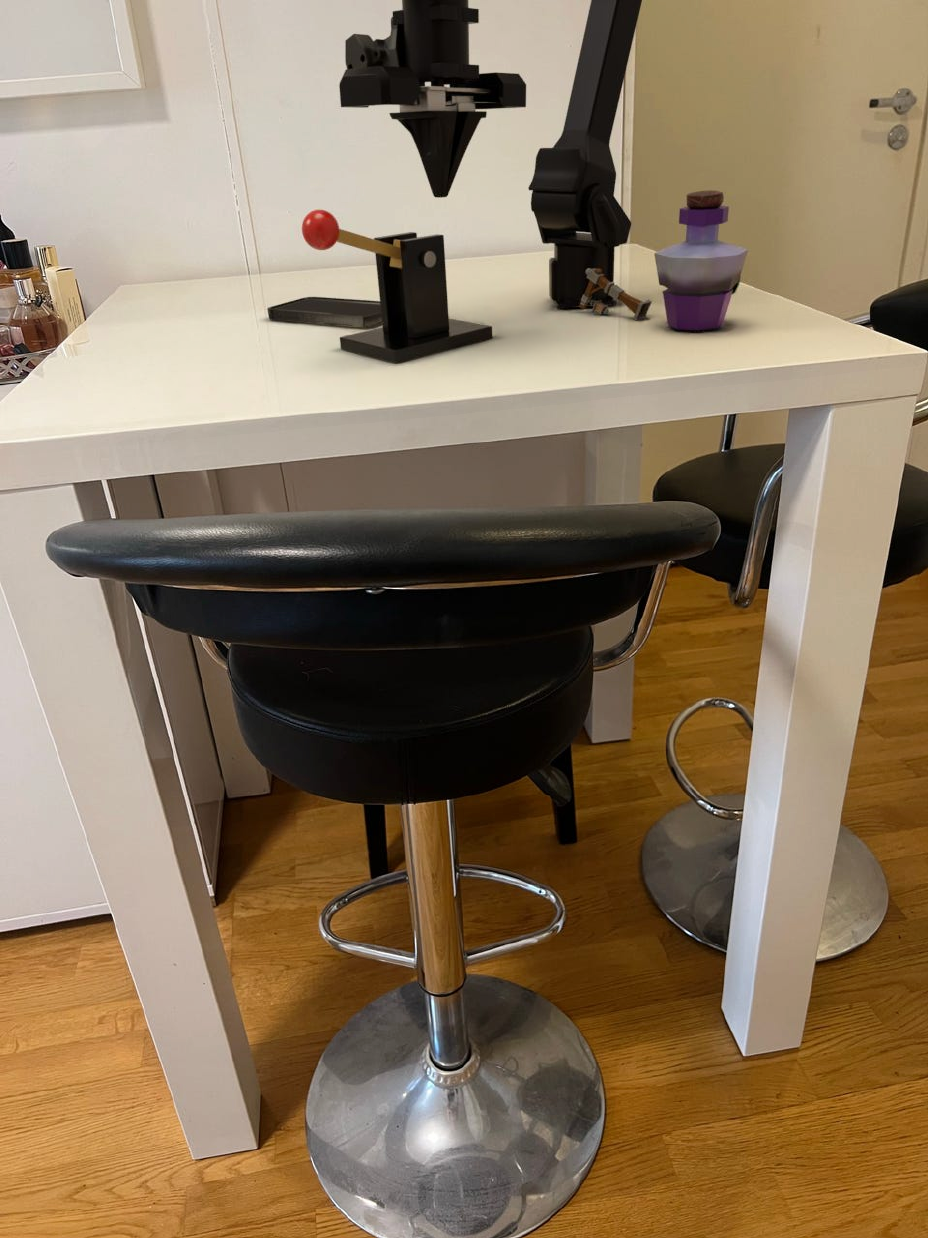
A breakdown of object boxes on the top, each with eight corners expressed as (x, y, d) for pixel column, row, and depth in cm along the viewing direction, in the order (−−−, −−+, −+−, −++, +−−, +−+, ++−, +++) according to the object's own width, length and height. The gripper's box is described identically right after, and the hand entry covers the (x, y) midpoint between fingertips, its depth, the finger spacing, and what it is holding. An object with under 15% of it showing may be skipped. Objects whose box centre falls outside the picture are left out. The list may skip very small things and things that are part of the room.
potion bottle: (759, 324, 86) (774, 187, 80) (701, 340, 82) (712, 197, 76) (690, 313, 92) (699, 185, 86) (632, 327, 88) (637, 194, 82)
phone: (308, 296, 106) (409, 302, 99) (309, 305, 107) (410, 313, 99) (262, 309, 101) (365, 317, 93) (263, 319, 101) (366, 328, 94)
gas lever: (312, 246, 74) (318, 205, 73) (292, 243, 77) (297, 204, 76) (428, 279, 83) (435, 243, 82) (407, 276, 85) (414, 241, 85)
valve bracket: (396, 363, 81) (385, 248, 76) (340, 349, 87) (327, 241, 82) (493, 338, 87) (488, 230, 82) (435, 326, 93) (428, 225, 88)
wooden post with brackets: (579, 300, 96) (594, 261, 93) (635, 338, 94) (652, 299, 90) (569, 303, 95) (584, 263, 92) (626, 342, 93) (643, 302, 89)
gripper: (442, 13, 87) (446, 190, 94) (289, -4, 75) (308, 200, 82) (531, 1, 80) (528, 192, 88) (379, -21, 68) (391, 203, 75)
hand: (440, 197), depth 83 cm, fingers closed
